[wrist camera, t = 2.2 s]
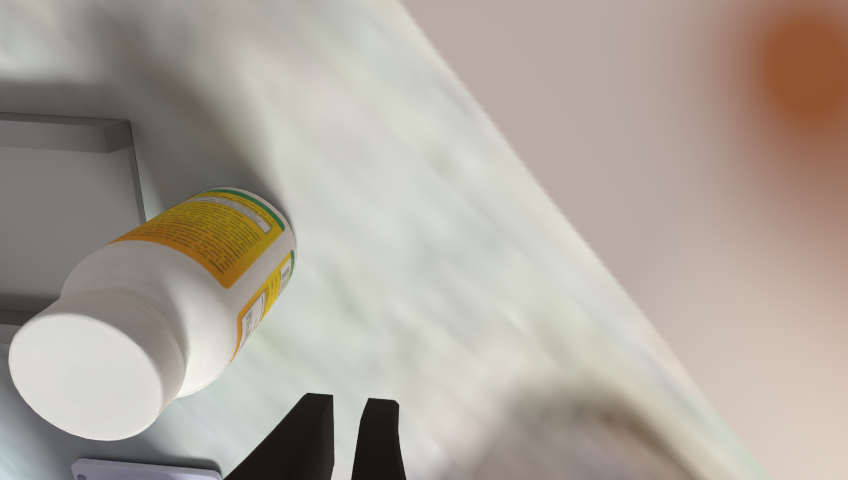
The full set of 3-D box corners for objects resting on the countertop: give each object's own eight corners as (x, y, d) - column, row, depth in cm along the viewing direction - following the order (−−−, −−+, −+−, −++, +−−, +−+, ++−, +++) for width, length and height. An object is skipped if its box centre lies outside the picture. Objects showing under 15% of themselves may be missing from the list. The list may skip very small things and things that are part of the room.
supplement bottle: (315, 287, 22) (219, 451, 13) (205, 307, 23) (45, 475, 14) (276, 170, 20) (134, 270, 11) (157, 196, 21) (-63, 310, 12)
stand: (164, 335, 24) (145, 354, 22) (-59, 317, 24) (-93, 335, 23) (128, 120, 20) (102, 126, 18) (-134, 103, 20) (-181, 108, 19)
